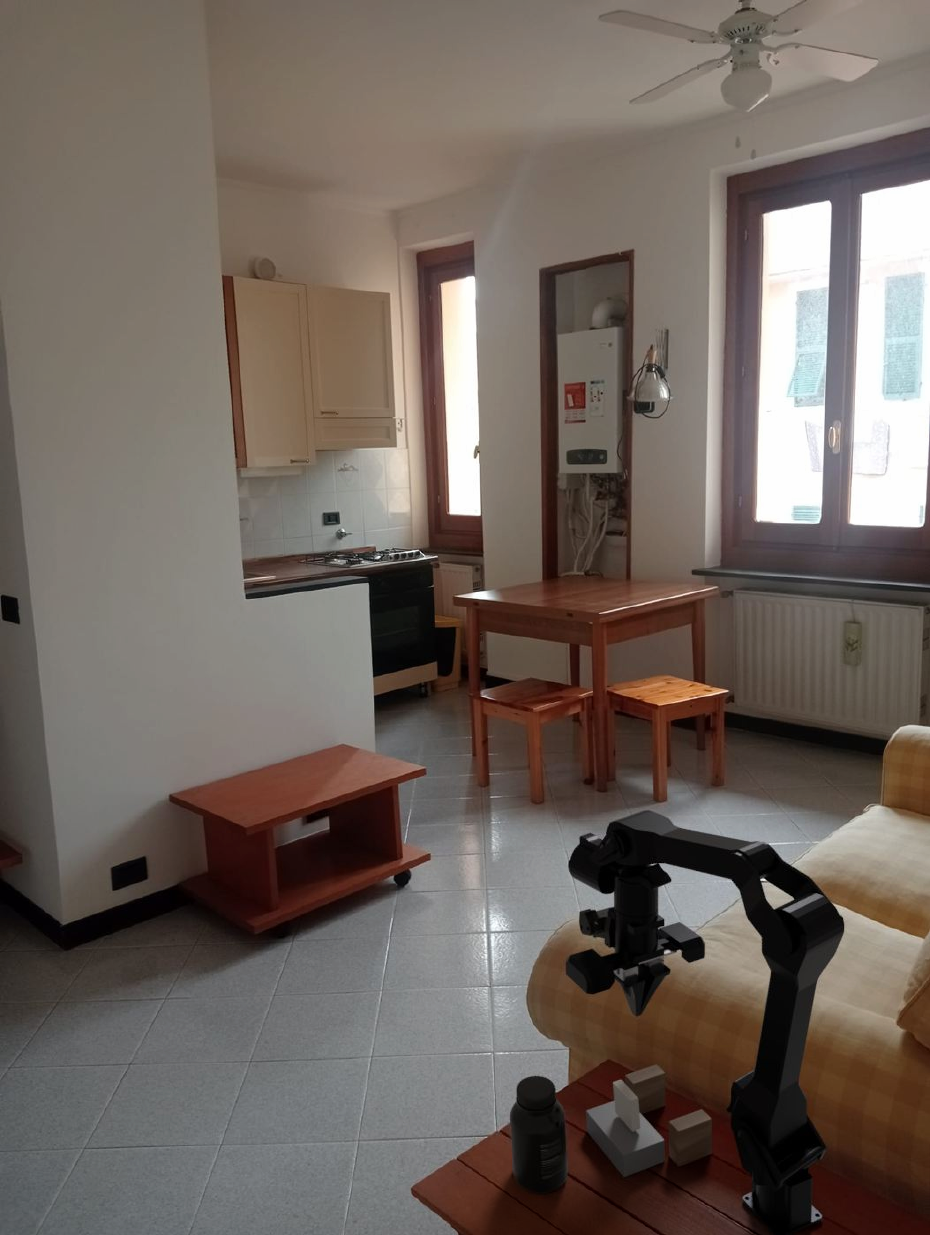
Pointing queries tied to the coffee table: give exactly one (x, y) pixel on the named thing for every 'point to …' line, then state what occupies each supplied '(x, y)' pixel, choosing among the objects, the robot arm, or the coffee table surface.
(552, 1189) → the supplement bottle
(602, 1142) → the base
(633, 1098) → the plate
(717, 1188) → the coffee table surface
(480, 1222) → the coffee table surface
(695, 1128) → the beige block
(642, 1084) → the far post
